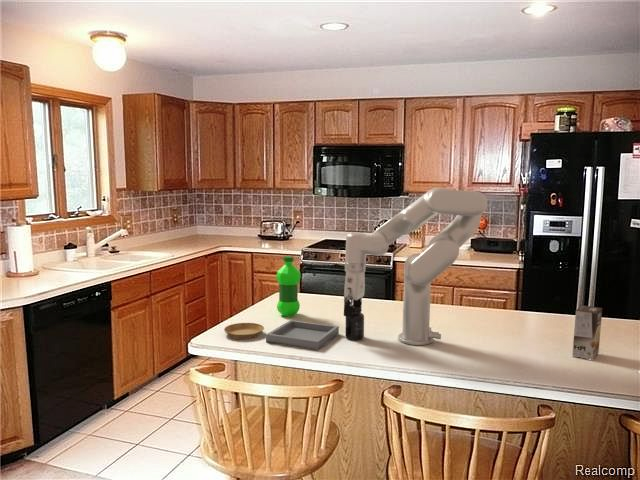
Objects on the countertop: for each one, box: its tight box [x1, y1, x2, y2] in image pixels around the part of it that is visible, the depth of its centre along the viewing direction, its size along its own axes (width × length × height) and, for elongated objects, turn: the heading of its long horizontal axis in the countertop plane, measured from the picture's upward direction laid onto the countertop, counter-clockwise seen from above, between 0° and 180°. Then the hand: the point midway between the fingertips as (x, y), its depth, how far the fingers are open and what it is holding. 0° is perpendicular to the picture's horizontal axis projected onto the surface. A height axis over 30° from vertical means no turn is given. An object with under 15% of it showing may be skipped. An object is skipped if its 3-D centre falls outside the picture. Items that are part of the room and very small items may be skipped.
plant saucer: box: [223, 322, 265, 340], centre depth 196 cm, size 15×15×3 cm
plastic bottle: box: [275, 255, 302, 318], centre depth 221 cm, size 10×10×25 cm
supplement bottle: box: [345, 304, 365, 342], centre depth 192 cm, size 7×7×12 cm
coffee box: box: [571, 305, 603, 361], centre depth 176 cm, size 9×6×16 cm
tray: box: [265, 319, 340, 351], centre depth 192 cm, size 20×20×3 cm
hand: (352, 313), depth 191 cm, fingers open, 9 cm apart
